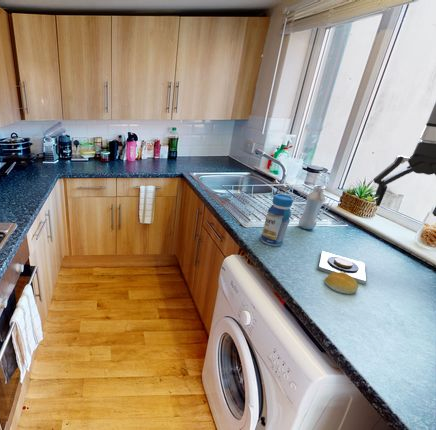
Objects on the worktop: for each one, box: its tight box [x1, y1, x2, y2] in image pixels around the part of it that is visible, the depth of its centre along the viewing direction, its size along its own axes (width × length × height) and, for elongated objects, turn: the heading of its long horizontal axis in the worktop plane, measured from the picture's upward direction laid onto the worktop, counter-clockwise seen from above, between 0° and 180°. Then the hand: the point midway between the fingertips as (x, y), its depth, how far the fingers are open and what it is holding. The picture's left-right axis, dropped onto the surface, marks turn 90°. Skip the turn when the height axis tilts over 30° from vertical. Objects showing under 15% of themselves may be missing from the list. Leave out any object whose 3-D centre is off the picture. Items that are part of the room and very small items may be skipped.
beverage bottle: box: [260, 193, 294, 247], centre depth 115 cm, size 8×8×20 cm
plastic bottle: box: [298, 184, 326, 230], centre depth 127 cm, size 6×7×20 cm
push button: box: [317, 250, 367, 285], centre depth 102 cm, size 13×13×3 cm
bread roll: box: [324, 272, 359, 295], centre depth 92 cm, size 8×9×4 cm
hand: (405, 209), depth 91 cm, fingers open, 13 cm apart
